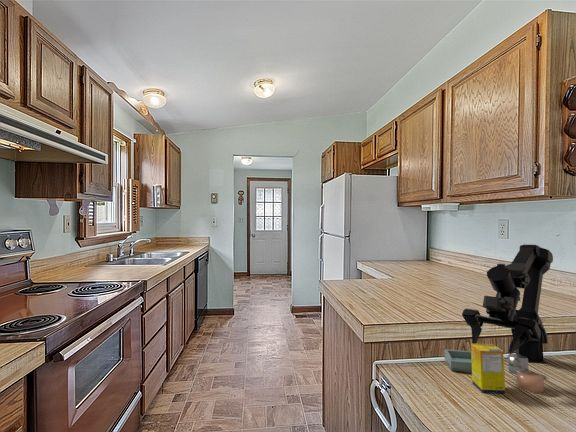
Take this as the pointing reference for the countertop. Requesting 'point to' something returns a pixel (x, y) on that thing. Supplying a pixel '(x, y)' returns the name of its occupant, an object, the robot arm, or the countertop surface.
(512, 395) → the countertop surface
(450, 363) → the tray
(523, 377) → the peach egg-shaped pebble
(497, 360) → the supplement box
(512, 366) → the tin
